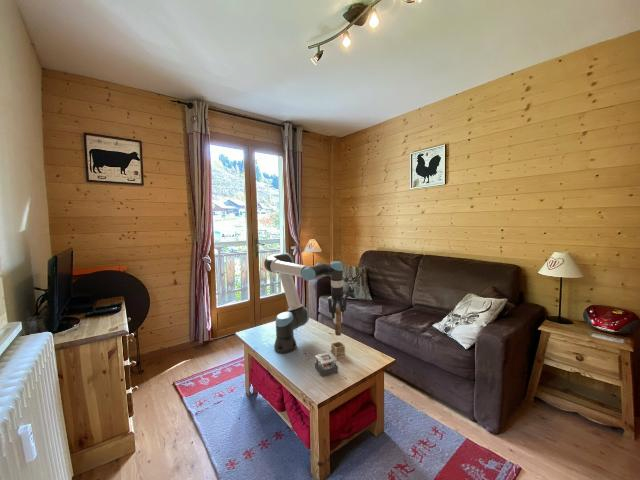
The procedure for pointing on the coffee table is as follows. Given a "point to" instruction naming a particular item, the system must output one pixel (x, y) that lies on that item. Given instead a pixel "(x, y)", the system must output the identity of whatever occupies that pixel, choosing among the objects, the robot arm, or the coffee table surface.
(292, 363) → the coffee table surface
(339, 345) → the pen cup
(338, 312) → the brown wooden rod
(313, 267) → the robot arm
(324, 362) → the grey button box
